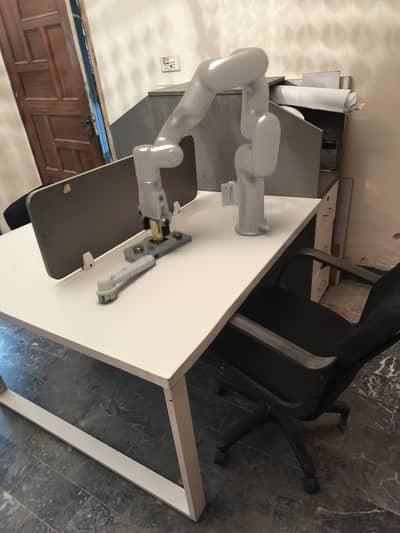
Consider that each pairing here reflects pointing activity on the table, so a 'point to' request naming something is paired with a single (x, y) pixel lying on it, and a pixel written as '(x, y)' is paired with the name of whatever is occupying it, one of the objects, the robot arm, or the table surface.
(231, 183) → the hinge
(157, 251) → the plate
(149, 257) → the toothbrush head
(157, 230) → the brass pin
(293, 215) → the table surface
